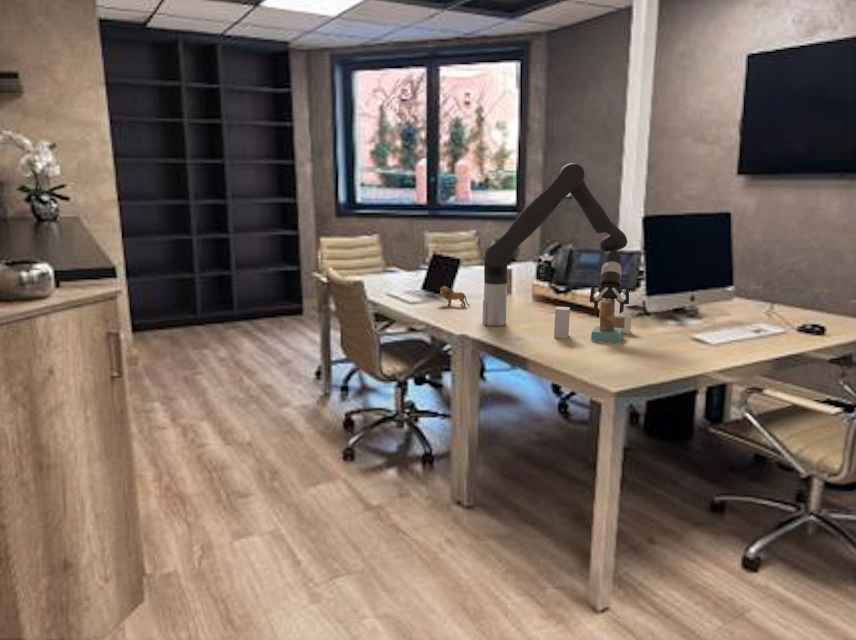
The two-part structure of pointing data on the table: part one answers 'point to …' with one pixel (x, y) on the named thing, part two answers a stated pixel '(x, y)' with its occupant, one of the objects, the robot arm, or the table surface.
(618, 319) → the plaque
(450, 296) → the lion figurine
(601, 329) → the walnut block
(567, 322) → the grey block
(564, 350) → the table surface
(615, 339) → the teal base block
